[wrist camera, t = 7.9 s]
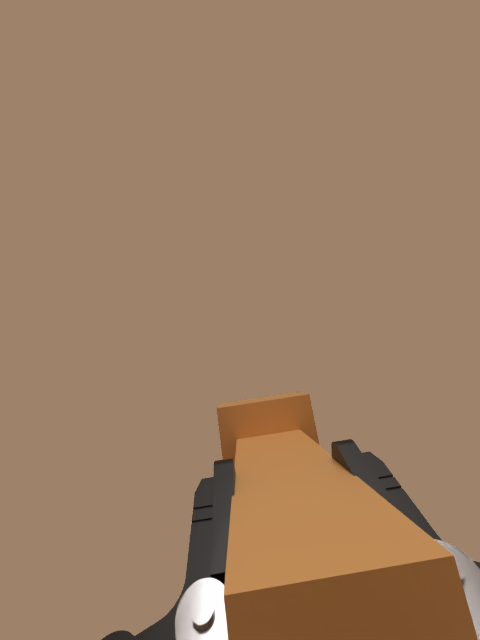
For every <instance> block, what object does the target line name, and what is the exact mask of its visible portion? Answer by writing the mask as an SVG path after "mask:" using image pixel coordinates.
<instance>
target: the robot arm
mask: <svg viewBox="0 0 480 640" xmlns="http://www.w3.org/2000/svg"><path fill="white" fill-rule="evenodd" d="M332 458H333V459H334V460H335V461H337V462H338V463H339V464H340V465H341V466H343V467H344V468H345V469H346V470H347V471H349V472H350V473H351V474H352V475H353V476H357V477H359V478H360V479H361V480H362V481H363V482H365V483H366V484H367V485H368V486H370V487H371V488H372V489H373V490H374V491H376V492H377V493H378V494H379V495H381V496H382V497H383V498H384V499H385V500H387V501H388V502H389V503H390V504H392V505H393V506H394V507H395V508H396V509H398V510H399V511H400V512H401V513H403V514H404V515H405V516H406V517H407V518H409V519H410V520H411V521H412V522H414V523H415V524H416V525H417V526H418V527H420V528H421V529H422V530H423V531H425V532H426V533H427V534H428V535H429V536H431V537H432V538H433V539H434V540H436V541H437V542H438V543H439V544H440V545H442V546H443V547H444V548H445V549H447V550H448V551H449V552H450V553H451V554H453V555H454V557H455V561H456V564H457V568H458V571H459V575H460V578H461V582H462V585H463V589H464V592H465V596H466V599H467V603H468V606H469V610H470V613H471V617H472V620H473V624H474V627H475V630H476V634H477V637H478V640H480V563H479V562H476V561H473V560H472V559H471V558H470V557H468V556H467V555H466V554H465V553H464V552H463V551H461V550H460V549H458V548H457V547H455V546H454V545H452V544H449V543H447V542H445V541H442V540H441V539H440V538H439V536H438V535H437V534H436V533H435V531H434V530H433V529H432V527H431V526H430V525H429V523H428V522H427V520H426V519H425V518H424V516H423V515H422V514H421V513H420V511H419V510H418V509H417V507H416V506H415V504H414V503H413V502H412V500H411V499H410V498H409V496H408V495H407V494H406V492H405V491H404V490H403V489H402V488H401V485H400V484H399V483H398V482H397V480H396V479H395V477H393V475H392V473H391V472H390V471H389V469H388V468H387V467H386V465H385V464H384V463H383V462H382V461H381V460H380V459H379V458H377V457H376V456H374V455H373V454H372V453H371V452H365V453H361V451H360V450H359V448H358V447H357V445H356V444H355V443H354V441H353V440H351V439H349V440H343V441H336V442H332ZM235 477H236V472H235V466H234V460H233V458H231V459H225V460H219V461H215V462H214V477H211V478H205V479H202V480H201V482H200V484H199V486H198V488H197V490H196V492H195V497H194V507H193V509H194V510H193V516H192V525H191V535H190V544H189V553H188V563H187V572H186V580H185V584H184V587H183V590H182V593H181V595H180V597H179V599H178V601H177V602H176V604H175V605H174V607H173V608H172V609H171V611H170V612H169V613H168V614H167V615H166V616H165V617H164V618H162V619H161V620H159V621H158V622H157V623H155V624H154V625H152V626H150V627H149V628H147V629H145V630H144V631H142V632H141V633H139V634H137V635H136V636H133V635H132V634H131V633H130V632H128V631H116V632H113V633H111V634H109V635H107V636H106V637H105V638H103V639H102V640H228V633H227V624H226V614H225V605H224V596H223V595H224V584H225V572H226V560H227V548H228V536H229V525H230V513H231V501H232V496H234V493H235Z"/></svg>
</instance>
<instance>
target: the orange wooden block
mask: <svg viewBox="0 0 480 640" xmlns="http://www.w3.org/2000/svg"><path fill="white" fill-rule="evenodd" d="M217 414H218V422H219V431H220V439H221V448H222V456H223V460H225V459H231V458H233V460H234V466H235V472H236V477H235V493H234V496H232V501H231V513H230V525H229V536H228V548H227V560H226V572H225V584H224V595H223V596H224V605H225V614H226V624H227V633H228V640H478V637H477V634H476V630H475V627H474V624H473V620H472V617H471V613H470V610H469V606H468V603H467V599H466V596H465V592H464V589H463V585H462V582H461V578H460V575H459V571H458V568H457V564H456V561H455V557H454V555H453V554H451V553H450V552H449V551H448V550H447V549H445V548H444V547H443V546H442V545H440V544H439V543H438V542H437V541H436V540H434V539H433V538H432V537H431V536H429V535H428V534H427V533H426V532H425V531H423V530H422V529H421V528H420V527H418V526H417V525H416V524H415V523H414V522H412V521H411V520H410V519H409V518H407V517H406V516H405V515H404V514H403V513H401V512H400V511H399V510H398V509H396V508H395V507H394V506H393V505H392V504H390V503H389V502H388V501H387V500H385V499H384V498H383V497H382V496H381V495H379V494H378V493H377V492H376V491H374V490H373V489H372V488H371V487H370V486H368V485H367V484H366V483H365V482H363V481H362V480H361V479H360V478H359V477H357V476H353V475H352V474H351V473H350V472H349V471H347V470H346V469H345V468H344V467H343V466H341V465H340V464H339V463H338V462H337V461H335V460H334V459H333V458H332V455H330V454H329V453H328V452H327V451H326V450H324V449H323V448H322V447H321V446H320V445H319V441H318V436H317V432H316V426H315V422H314V417H313V411H312V407H311V401H310V396H309V394H305V393H300V392H292V393H285V394H280V395H273V396H266V397H259V398H253V399H246V400H240V401H233V402H226V403H222V404H220V405H219V406H218V408H217Z"/></svg>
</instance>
